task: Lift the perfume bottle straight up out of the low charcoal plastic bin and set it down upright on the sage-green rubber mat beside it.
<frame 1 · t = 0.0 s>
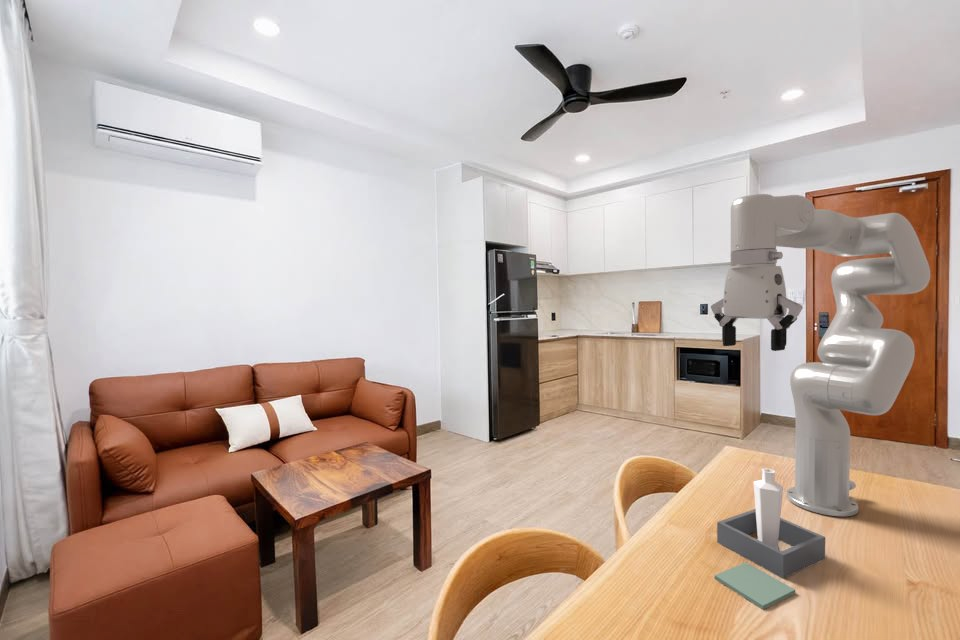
hand: (752, 347, 85), 37 cm above the table, tool pointing down, fingers open, 9 cm apart
bin: (769, 550, 80), on the table
mat: (753, 585, 70), on the table
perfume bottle: (769, 551, 80), resting in bin
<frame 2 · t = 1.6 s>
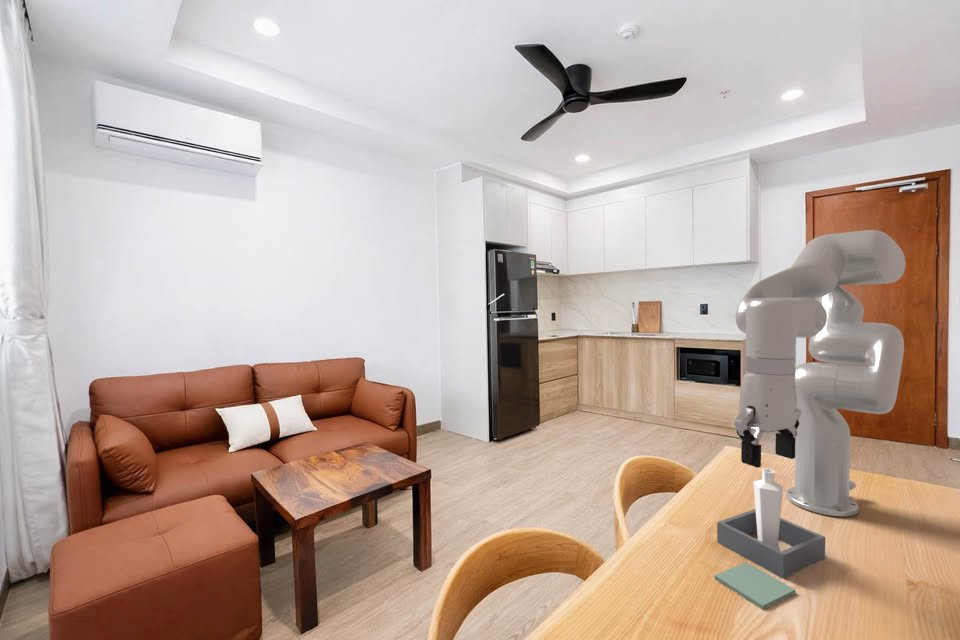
hand: (768, 460, 79), 17 cm above the table, tool pointing down, fingers open, 9 cm apart
nothing on the table moved.
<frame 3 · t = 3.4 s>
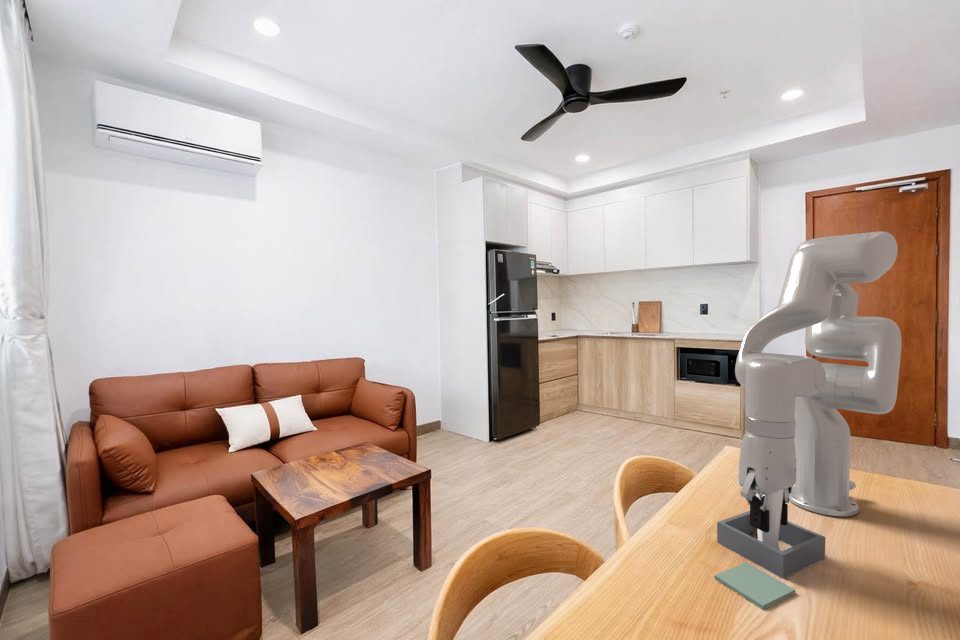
hand: (768, 524, 79), 5 cm above the table, tool pointing down, fingers closed on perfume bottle, 4 cm apart
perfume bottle: (769, 551, 80), resting in bin, touching gripper
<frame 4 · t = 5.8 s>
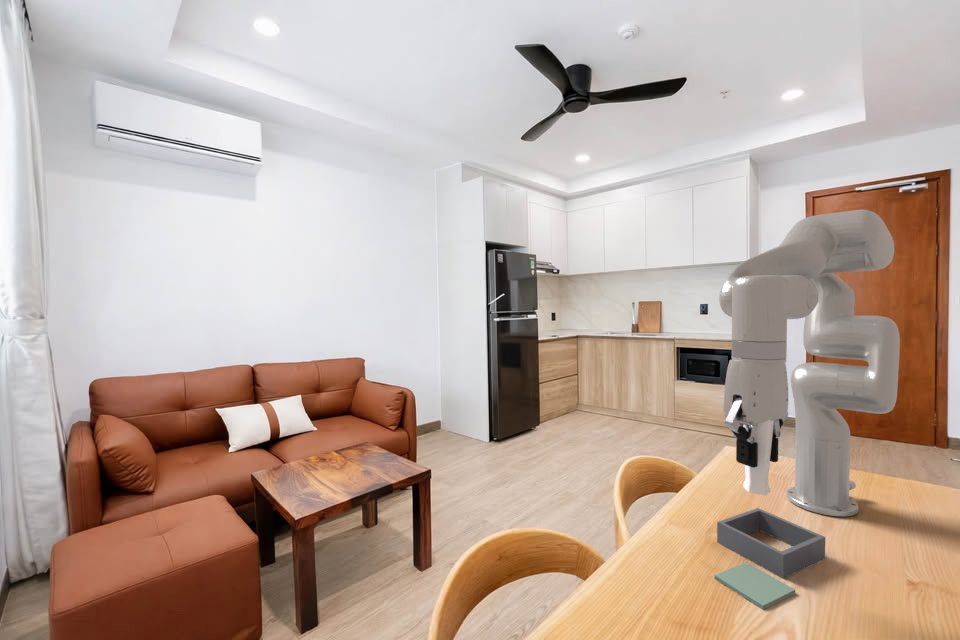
hand: (757, 460, 71), 20 cm above the table, tool pointing down, fingers closed on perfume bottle, 4 cm apart
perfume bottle: (757, 491, 71), point 15 cm above the table, touching gripper
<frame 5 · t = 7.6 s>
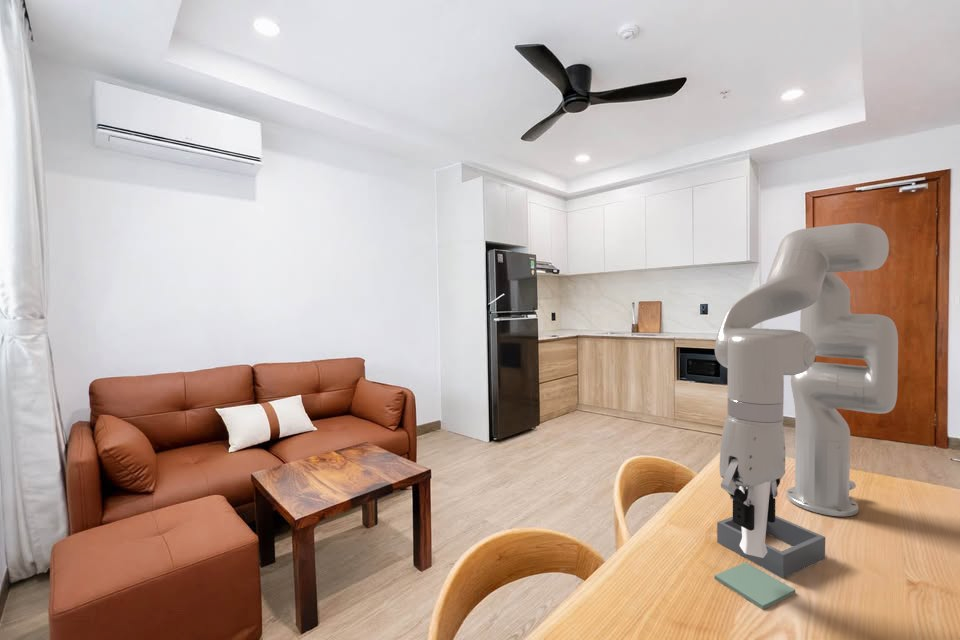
hand: (753, 521, 70), 11 cm above the table, tool pointing down, fingers closed on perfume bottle, 4 cm apart
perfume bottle: (754, 551, 70), point 6 cm above the table, touching gripper
when the fingers open (7 cm above the table, at t = 8.7 s): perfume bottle drops 1 cm, resting on mat.
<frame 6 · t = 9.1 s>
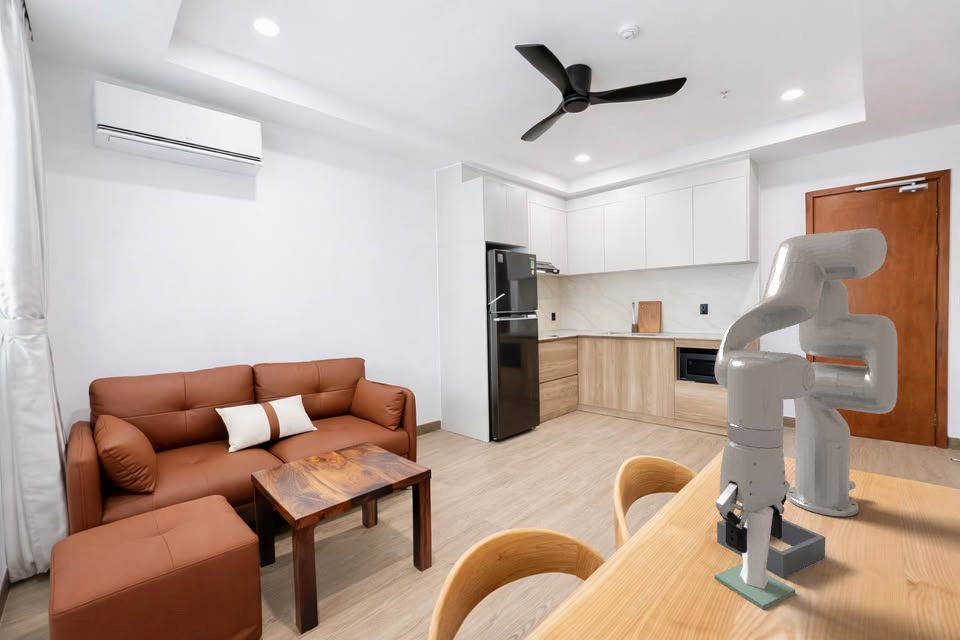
hand: (754, 541, 70), 7 cm above the table, tool pointing down, fingers open, 8 cm apart
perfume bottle: (755, 581, 71), resting on mat
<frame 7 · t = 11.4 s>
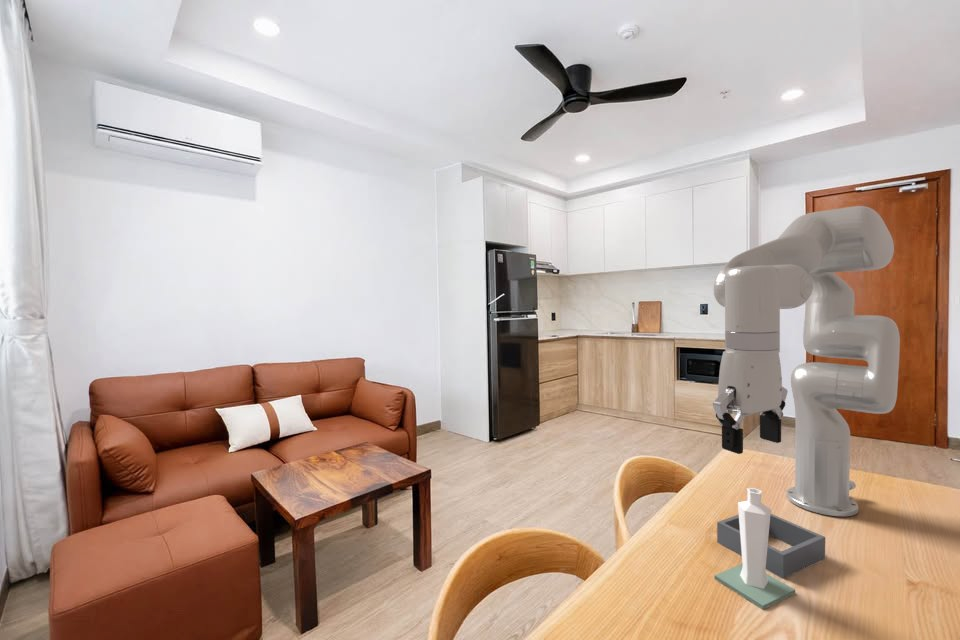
hand: (751, 445, 71), 22 cm above the table, tool pointing down, fingers open, 9 cm apart
nothing on the table moved.
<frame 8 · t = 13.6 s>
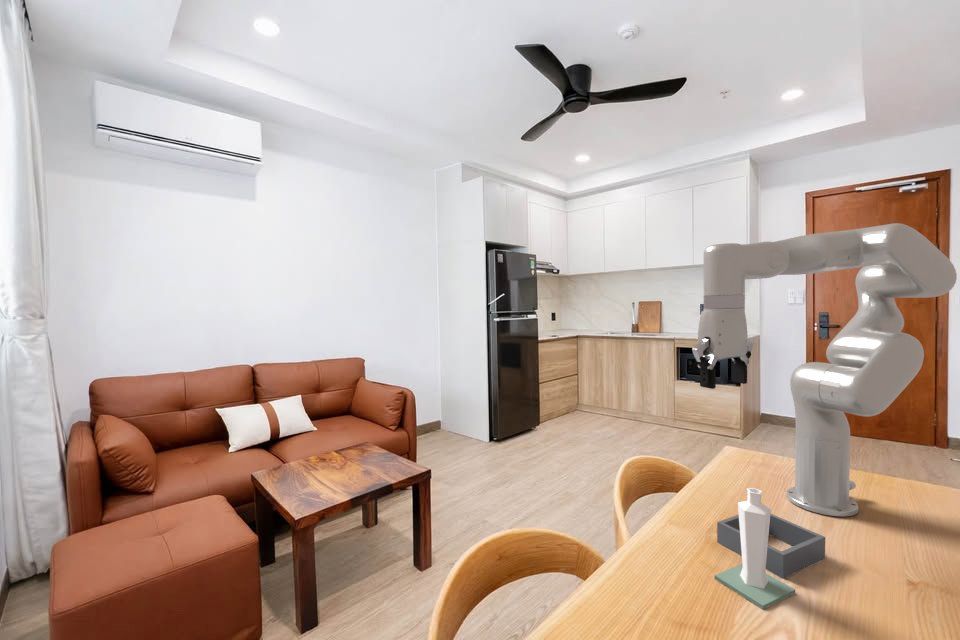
hand: (723, 385, 91), 28 cm above the table, tool pointing down, fingers open, 9 cm apart
nothing on the table moved.
at the end: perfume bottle 0.6 cm off-centre on the mat, point 0.4 cm above the mat's base; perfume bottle tilted 0°; the gripper is holding nothing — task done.
